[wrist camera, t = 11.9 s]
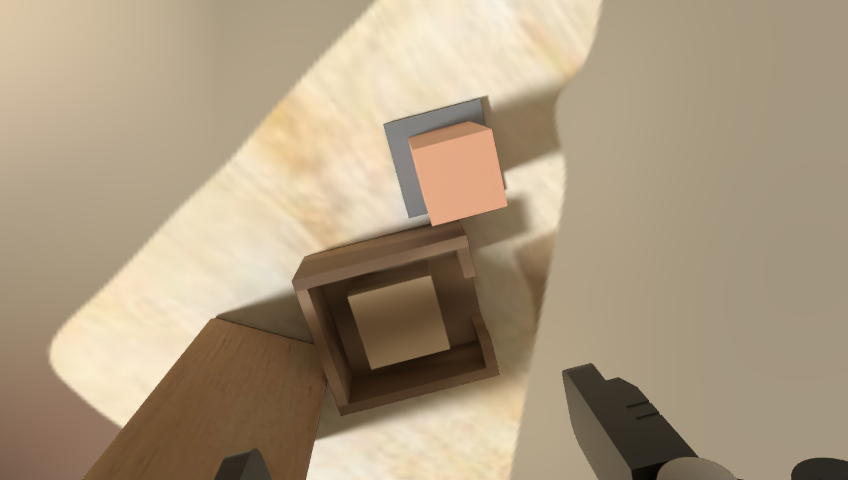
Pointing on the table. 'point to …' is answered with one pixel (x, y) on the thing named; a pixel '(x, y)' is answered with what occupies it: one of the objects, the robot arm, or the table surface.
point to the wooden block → (224, 409)
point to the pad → (419, 125)
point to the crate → (396, 316)
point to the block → (458, 171)
